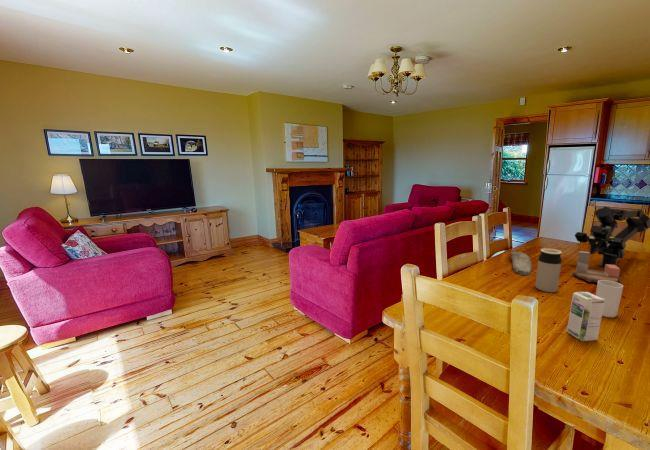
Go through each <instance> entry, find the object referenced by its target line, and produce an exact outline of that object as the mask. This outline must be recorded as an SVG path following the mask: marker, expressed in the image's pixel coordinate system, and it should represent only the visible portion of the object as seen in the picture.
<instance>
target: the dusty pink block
mask: <svg viewBox="0 0 650 450" xmlns="http://www.w3.org/2000/svg"><path fill="white" fill-rule="evenodd" d="M617 266H618V265H610V264H605V267H604V270H603V271H604V272H605V273H606V274H607V275H608V276H612V277H620V273H621V268H620V267H619V268H618V267H617Z"/></svg>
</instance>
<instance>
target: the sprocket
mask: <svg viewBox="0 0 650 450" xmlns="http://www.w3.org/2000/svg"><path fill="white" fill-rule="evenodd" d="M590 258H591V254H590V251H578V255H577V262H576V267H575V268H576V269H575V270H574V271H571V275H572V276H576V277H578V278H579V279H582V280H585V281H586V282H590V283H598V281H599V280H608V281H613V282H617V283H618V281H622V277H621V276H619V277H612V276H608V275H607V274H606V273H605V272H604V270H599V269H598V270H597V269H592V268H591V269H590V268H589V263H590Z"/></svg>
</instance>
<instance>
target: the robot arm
mask: <svg viewBox="0 0 650 450" xmlns="http://www.w3.org/2000/svg"><path fill="white" fill-rule="evenodd" d="M644 212H645V211H644V210H642V209H638V208H637V209H635V208H634V209H633V208H631V209H621V208H619V209H618V208H610V207H609V206H603V207H602V208H599V209H596V210H595V211H594V215H595V217H596V219H597V221H598V223H600V224H599V225H591V228H590V231H589V232H590V233H591V235H588V234H587V233H586V232H581V231H576V232H575V234H574V237H575V240H576V241H577V242H578V243H584V244H585V243H588V244H589V245H590V250H589V253H590V255H594V254H596V253H597V254H598V255H602V258H601V263H599V264H598V265H597V266H598V267H602V268H605V264H610V265H616V266H617V267H618V268H620V266H619V265H617V264H618V259H623V258H624V256H625V252H624V250H625V249H626V247H627V244H626V243H627V242H628V241H629V240H630V239H631V238H632V237H634V235H635V236H636V234H637V233H642V232H646V231H647V230H648V229H650V216H648V215H647V214H645V213H644ZM617 221H620V222H623V221H625V222H626V227H624V228H623V229H622V230H621V231H619V232H618V233H617V234H616V235H615V236H613V233H614V231H615V229H618V227H619V225H618V222H617Z"/></svg>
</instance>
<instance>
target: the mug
mask: <svg viewBox="0 0 650 450" xmlns="http://www.w3.org/2000/svg"><path fill="white" fill-rule="evenodd" d="M596 283H597V282H596ZM623 289H624V285H623V284H621V283H619V282H618V281H617V282H613V281H608V280H599V281H598V283H597V285H596V289H595V290H596V292H595V296H598V297H600V298H602V299H605V303H604V308H603V313H602V317H605V318H615V317H617V315H618V311H619V308H620V307H619V306H620V303H621V298H622V294H623Z"/></svg>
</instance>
